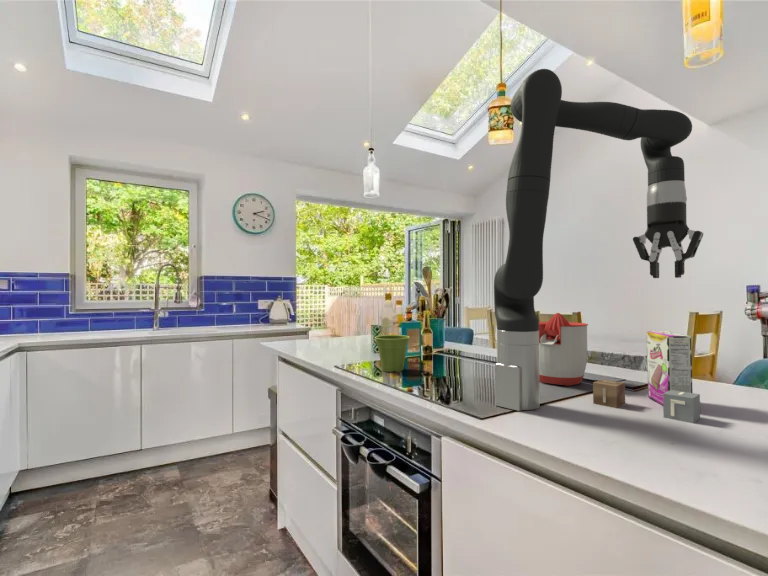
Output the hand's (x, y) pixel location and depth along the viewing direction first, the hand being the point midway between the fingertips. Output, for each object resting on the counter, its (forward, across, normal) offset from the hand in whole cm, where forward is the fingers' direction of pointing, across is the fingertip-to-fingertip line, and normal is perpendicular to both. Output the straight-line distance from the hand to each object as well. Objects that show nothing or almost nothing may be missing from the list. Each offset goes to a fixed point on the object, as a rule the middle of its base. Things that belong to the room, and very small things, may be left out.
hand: (667, 277), depth 94 cm
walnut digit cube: (+29, -9, -10) cm, 32 cm away
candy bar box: (+29, 0, 0) cm, 29 cm away
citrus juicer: (+29, -28, +3) cm, 41 cm away
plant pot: (+30, -73, -21) cm, 81 cm away
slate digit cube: (+29, +5, -10) cm, 31 cm away
